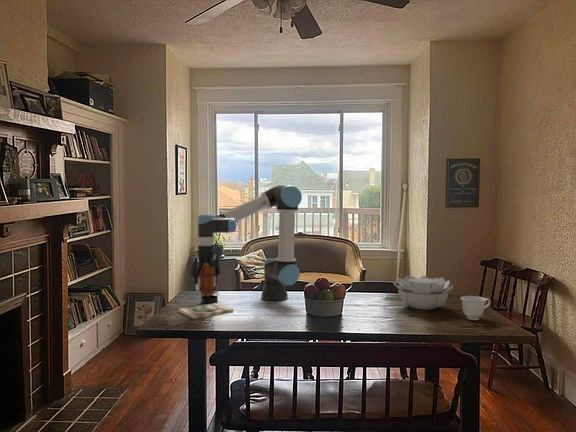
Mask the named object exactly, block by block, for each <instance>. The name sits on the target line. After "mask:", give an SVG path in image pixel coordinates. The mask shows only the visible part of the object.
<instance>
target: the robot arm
mask: <svg viewBox="0 0 576 432" xmlns="http://www.w3.org/2000/svg"><path fill="white" fill-rule="evenodd" d="M302 197H303V194H302V192H301V190H300V189H299V188H298V187H297V186H295V185H292V184H283V185H282V184H281V185H280V184H279V185H276V186H273V187H271V188H269V189H268V190H265V191H264V192H261V193H260V195H259V196H257V197H253V198H252V199H250V200H248V201H246V202H244V203H242V204H240V205H237V206H235V207H232V208H230V209H229V210H226V211H225V212H222V213H220V214H218V215H214V214H211V213H210V214H207V213H206V214H205V213H203V214H199V215H198V216H197V217H198V218H197V233H198V234H197V236H198V237H197V239H198V240H197V242H198V243H197V245H198V246H197V253H198V255H197V256H192V265H191V271H190V276H191V277H192V278H193V283H194V284H195V291H197V292H201V291H200V286H201V277H199V276H200V273H201V268H202V267H203V265H204V264H205V263H206V264H209V265H208V266H210V267H214V272H215V274H216V276H214V286H215V287H216V285H215V282H217V281H218V278H217V277H218V276H219V275H220V274H221V269H220V264H219V262H220V261H219V254H218V255H217V254H214V245H213V244H214V234H217V233H218V234H219V233H220V234H221V233H222V234H223V233H228V234H229V233H235V232H236V230H237V222H239V221H242V220H243V219H245V218H248V217H249V216H252V215H254V214H256V213H258V212H261V211H262V210H265V209H272V208H273V207H274V208H275V207H276V211H277V212H278V218H279V219H278V247H277V248H278V249H277V250H278V254H277V255H278V256H277V257H276V258H266V259H265V260H264V263H263V267H264V268H263V269H264V270H263V271H264V273H263V274H264V276H263V277H264V281H263V283H264V285H263V288H262V292H261V294H260V295H261V299H262V300H264V301H268V302H270V301H271V302H280V301H286V300H287V299H289V296H288V291H287V288H286V286H292V285H294V284H295V283H296V282H298V280H299V278H300V277H301V276H300V274H301V272H300V269H299V267H298V266H297V259H296V257H295V228H296V227H295V225H296V224H295V223H296V213H297V212H298V210H299V206H300V204H301V203H302V200H303V198H302Z"/></svg>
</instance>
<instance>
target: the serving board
mask: <svg viewBox="0 0 576 432" xmlns="http://www.w3.org/2000/svg"><path fill="white" fill-rule="evenodd" d="M178 313H180V314H182V315H185V316H187V317H190V318H192V319H194V320H196V319H200V318H207V317H214V316H218V315H224V314H230V313H234V308H231V307H228V306H226V305H223V304H220V303H213V304H207V305H203V304H199V305H195V306H189V307H183V308H182V307H181V308H178Z"/></svg>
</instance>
